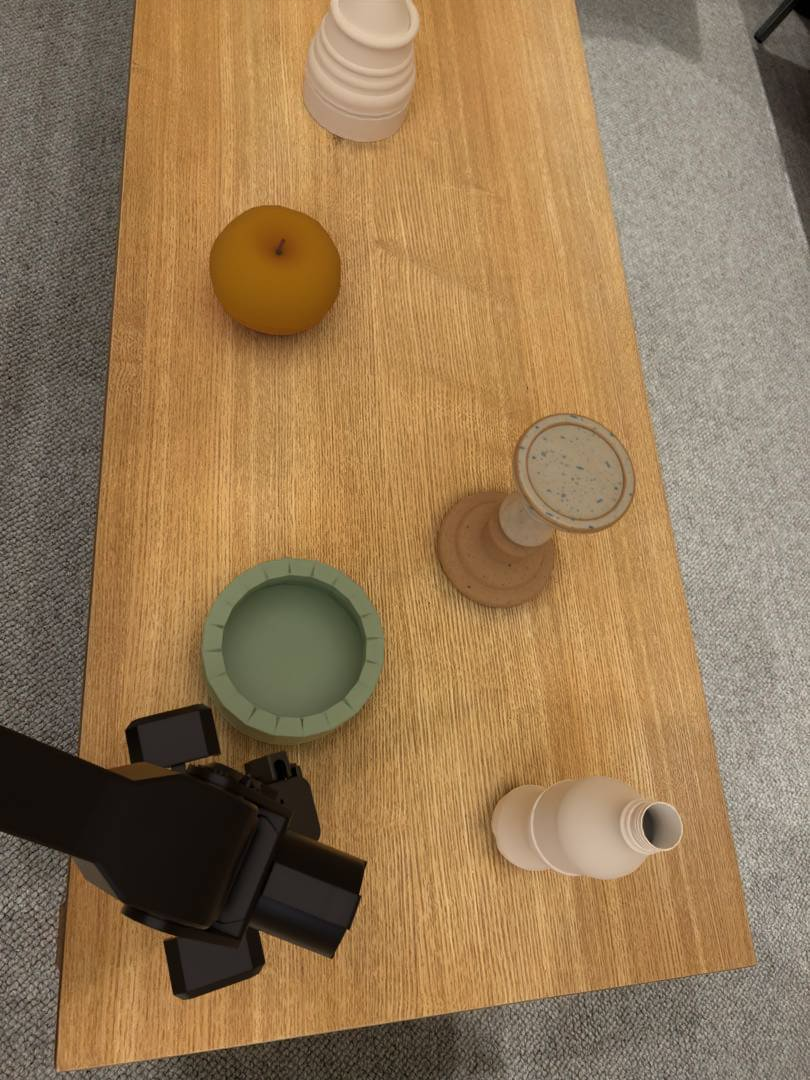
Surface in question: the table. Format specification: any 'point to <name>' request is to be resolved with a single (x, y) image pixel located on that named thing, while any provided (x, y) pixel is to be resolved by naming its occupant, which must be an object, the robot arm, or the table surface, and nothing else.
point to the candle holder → (536, 510)
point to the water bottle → (583, 827)
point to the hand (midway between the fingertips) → (195, 841)
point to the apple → (275, 270)
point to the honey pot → (362, 68)
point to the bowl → (291, 651)
